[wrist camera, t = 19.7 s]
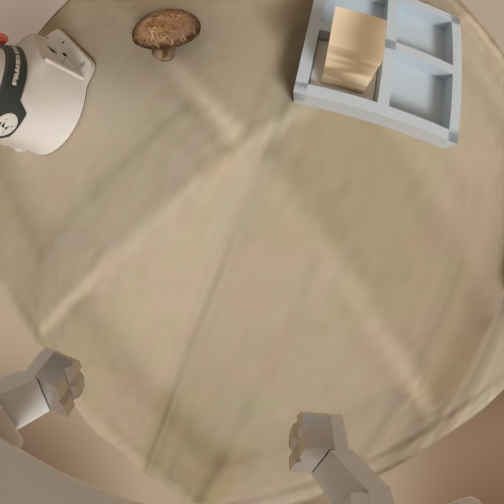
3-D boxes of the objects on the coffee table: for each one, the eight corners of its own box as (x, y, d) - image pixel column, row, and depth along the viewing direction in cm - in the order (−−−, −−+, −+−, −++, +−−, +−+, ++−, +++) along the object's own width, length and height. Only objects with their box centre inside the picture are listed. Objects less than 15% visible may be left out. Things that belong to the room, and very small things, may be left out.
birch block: (321, 83, 28) (328, 44, 19) (327, 50, 27) (335, 6, 18) (361, 94, 27) (383, 59, 18) (367, 60, 26) (386, 20, 18)
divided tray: (293, 102, 30) (293, 91, 26) (318, -12, 26) (319, -28, 23) (443, 148, 28) (457, 144, 24) (449, 30, 24) (459, 19, 21)
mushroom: (151, 77, 28) (141, 30, 22) (129, 57, 31) (121, 17, 25) (213, 55, 30) (211, 10, 25) (184, 38, 33) (180, -1, 27)
